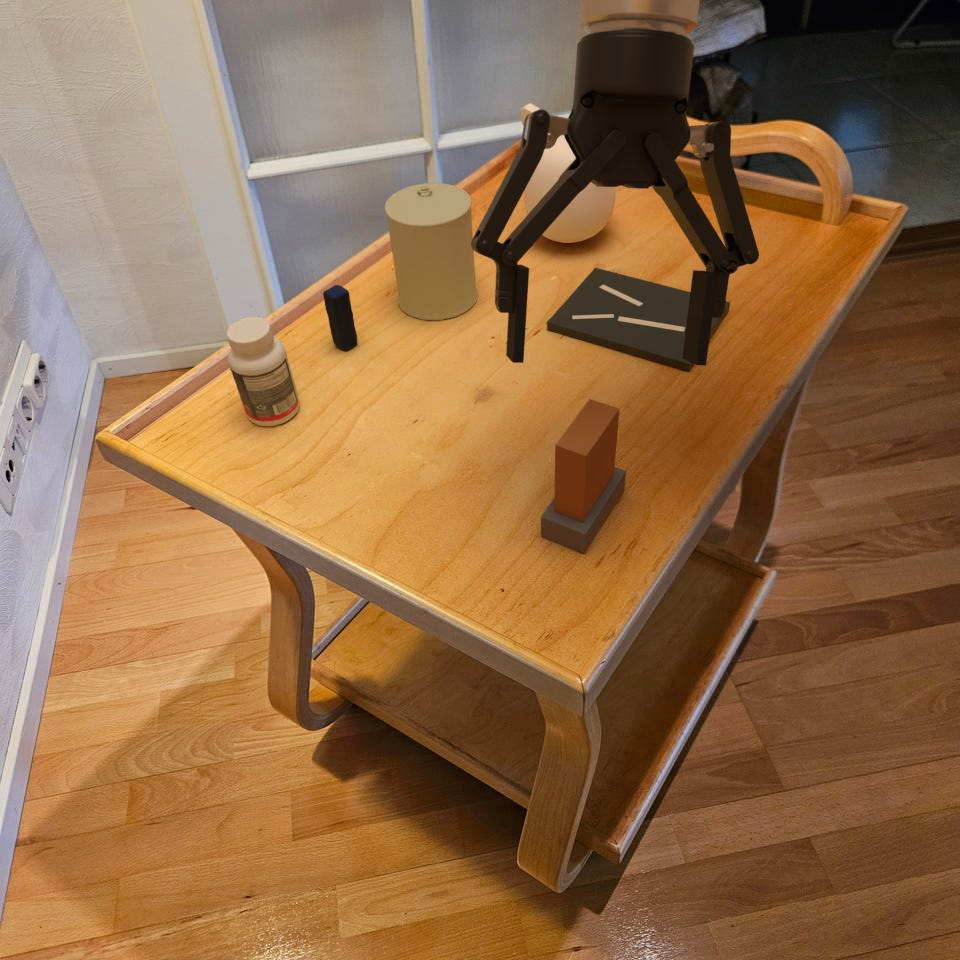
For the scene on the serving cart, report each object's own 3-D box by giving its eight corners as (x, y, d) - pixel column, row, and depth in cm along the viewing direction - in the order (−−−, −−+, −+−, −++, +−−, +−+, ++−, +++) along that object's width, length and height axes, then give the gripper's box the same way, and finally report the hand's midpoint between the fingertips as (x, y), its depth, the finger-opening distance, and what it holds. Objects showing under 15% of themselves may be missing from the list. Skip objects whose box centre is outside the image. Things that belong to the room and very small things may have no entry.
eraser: (332, 345, 89) (320, 291, 84) (348, 336, 90) (337, 282, 85) (344, 353, 88) (333, 299, 83) (360, 344, 89) (350, 289, 84)
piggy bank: (629, 218, 104) (639, 96, 94) (600, 266, 97) (607, 139, 86) (537, 204, 108) (537, 85, 98) (503, 248, 101) (498, 125, 90)
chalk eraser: (624, 491, 72) (633, 403, 65) (584, 554, 67) (589, 467, 60) (582, 475, 74) (587, 388, 66) (540, 536, 69) (540, 450, 62)
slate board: (729, 309, 90) (730, 301, 89) (688, 371, 83) (690, 363, 82) (594, 274, 96) (595, 266, 95) (546, 329, 89) (546, 321, 88)
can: (468, 269, 98) (461, 172, 90) (486, 312, 92) (480, 212, 83) (392, 282, 97) (377, 185, 89) (404, 327, 91) (390, 227, 82)
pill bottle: (245, 398, 84) (218, 317, 77) (298, 388, 84) (276, 307, 77) (247, 433, 80) (219, 351, 73) (303, 422, 81) (280, 340, 74)
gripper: (786, 58, 59) (742, 353, 66) (438, 31, 55) (431, 348, 62) (845, 40, 52) (789, 373, 59) (451, 8, 48) (441, 368, 55)
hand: (605, 361), depth 61 cm, fingers open, 13 cm apart
